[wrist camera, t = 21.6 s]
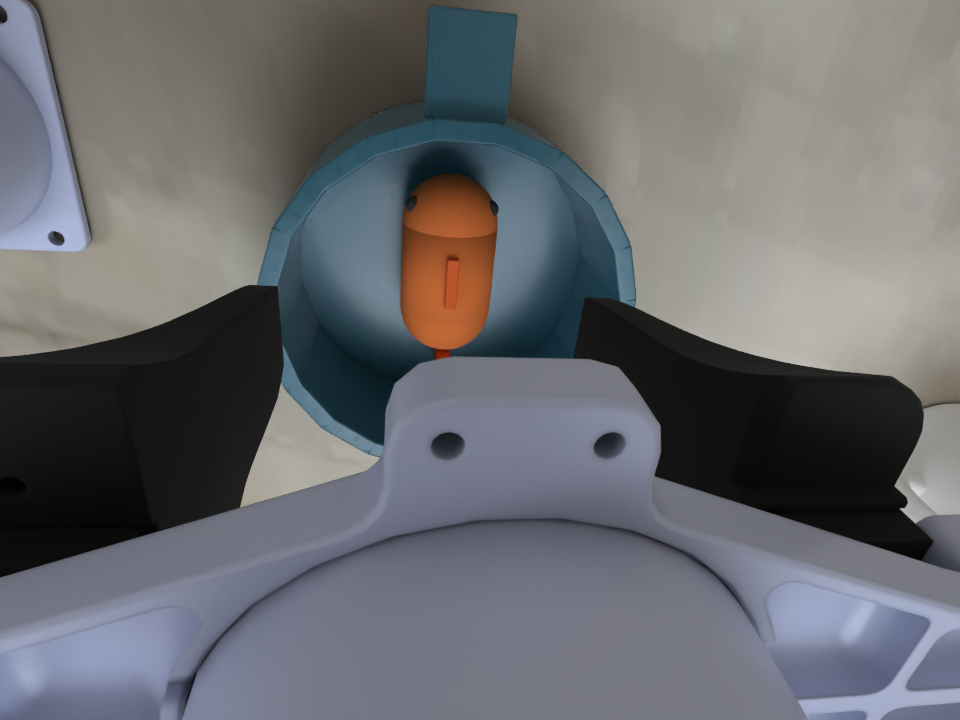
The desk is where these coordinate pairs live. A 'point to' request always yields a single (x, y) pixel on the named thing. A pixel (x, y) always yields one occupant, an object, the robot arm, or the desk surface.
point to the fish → (447, 261)
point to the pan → (378, 234)
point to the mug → (934, 466)
